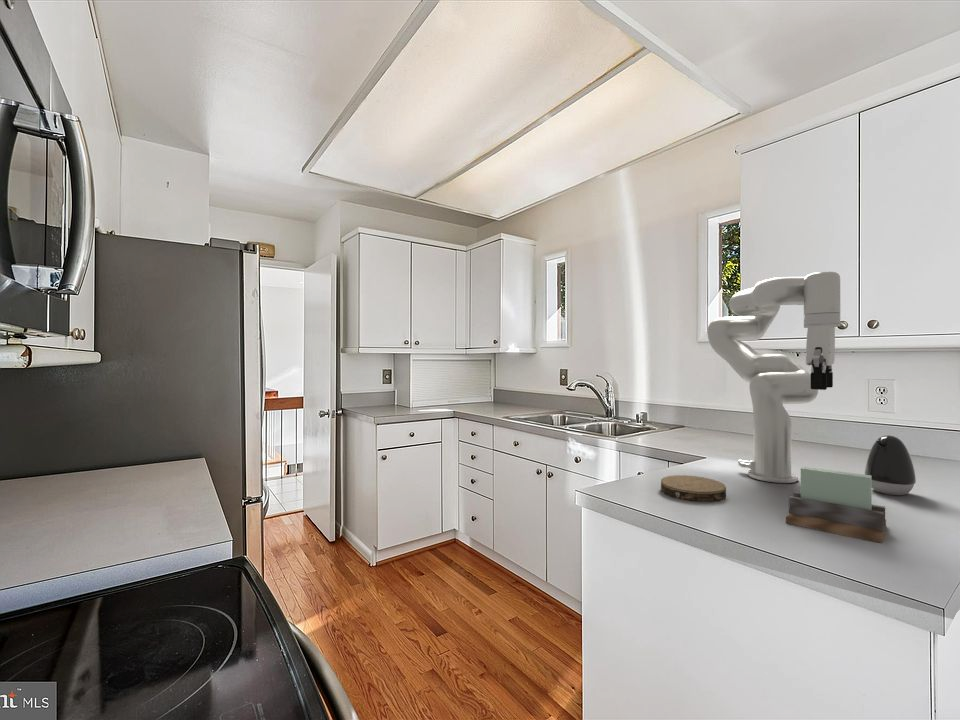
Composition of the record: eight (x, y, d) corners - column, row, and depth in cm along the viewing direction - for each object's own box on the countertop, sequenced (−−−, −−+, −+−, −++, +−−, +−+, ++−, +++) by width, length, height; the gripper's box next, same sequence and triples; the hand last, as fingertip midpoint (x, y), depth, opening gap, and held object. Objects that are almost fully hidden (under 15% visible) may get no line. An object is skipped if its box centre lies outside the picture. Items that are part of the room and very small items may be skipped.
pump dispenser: (855, 489, 125) (855, 434, 125) (877, 485, 129) (877, 431, 129) (902, 500, 115) (902, 440, 115) (924, 495, 120) (924, 437, 119)
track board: (785, 522, 101) (785, 500, 101) (797, 509, 110) (796, 488, 110) (882, 543, 90) (882, 517, 90) (886, 526, 99) (886, 503, 99)
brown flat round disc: (675, 482, 135) (675, 472, 135) (734, 493, 124) (734, 482, 124) (650, 494, 124) (650, 483, 124) (713, 508, 112) (713, 495, 112)
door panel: (800, 512, 103) (800, 468, 103) (802, 510, 105) (802, 466, 105) (870, 526, 95) (870, 477, 95) (871, 522, 97) (871, 475, 97)
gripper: (810, 323, 126) (810, 385, 126) (797, 320, 114) (797, 389, 114) (844, 322, 121) (845, 387, 121) (835, 318, 108) (835, 391, 109)
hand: (821, 388), depth 117 cm, fingers open, 9 cm apart
